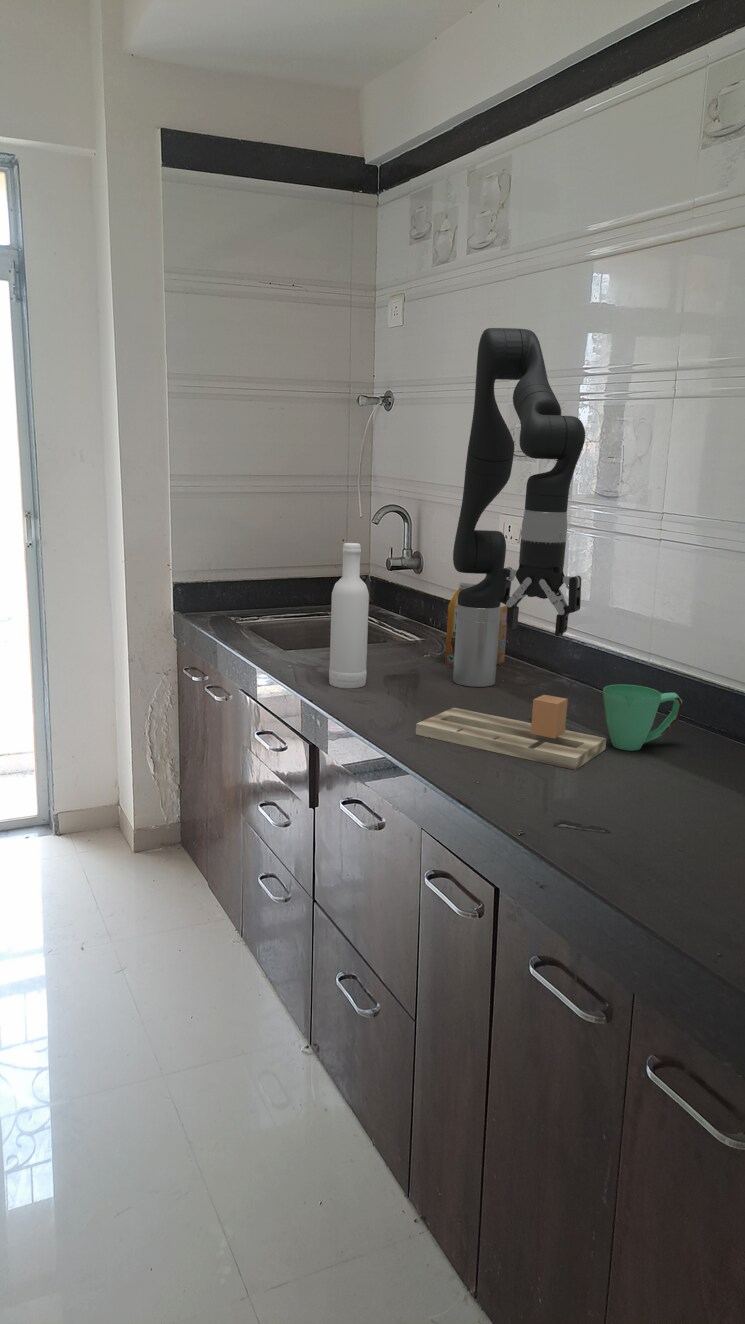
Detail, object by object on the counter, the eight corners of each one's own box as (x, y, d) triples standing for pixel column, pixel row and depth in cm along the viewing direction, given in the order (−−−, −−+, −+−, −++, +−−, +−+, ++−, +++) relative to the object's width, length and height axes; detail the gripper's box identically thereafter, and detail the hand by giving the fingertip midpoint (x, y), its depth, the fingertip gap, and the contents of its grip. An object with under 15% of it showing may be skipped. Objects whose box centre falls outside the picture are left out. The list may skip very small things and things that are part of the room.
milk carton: (504, 662, 230) (509, 584, 226) (485, 670, 222) (490, 589, 217) (465, 656, 236) (469, 580, 232) (445, 663, 227) (449, 584, 223)
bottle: (344, 690, 198) (349, 546, 191) (321, 682, 204) (325, 542, 197) (373, 685, 203) (379, 544, 196) (350, 678, 209) (354, 541, 202)
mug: (615, 756, 161) (620, 699, 159) (588, 739, 171) (593, 685, 168) (691, 752, 165) (697, 697, 163) (661, 735, 174) (666, 683, 172)
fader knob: (539, 742, 166) (543, 694, 164) (563, 747, 164) (567, 698, 162) (529, 748, 163) (533, 699, 161) (553, 753, 160) (557, 704, 159)
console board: (453, 717, 181) (453, 707, 180) (605, 749, 165) (606, 737, 165) (415, 734, 169) (416, 723, 169) (575, 770, 154) (576, 757, 153)
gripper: (591, 540, 159) (582, 634, 163) (513, 532, 166) (506, 622, 170) (575, 544, 153) (566, 642, 157) (495, 535, 160) (488, 629, 164)
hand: (535, 631), depth 164 cm, fingers open, 8 cm apart
